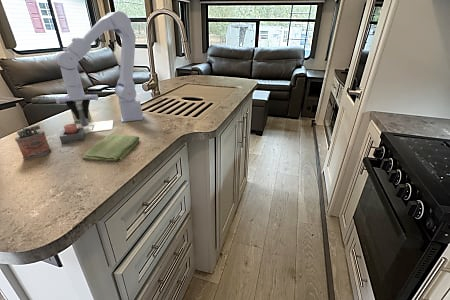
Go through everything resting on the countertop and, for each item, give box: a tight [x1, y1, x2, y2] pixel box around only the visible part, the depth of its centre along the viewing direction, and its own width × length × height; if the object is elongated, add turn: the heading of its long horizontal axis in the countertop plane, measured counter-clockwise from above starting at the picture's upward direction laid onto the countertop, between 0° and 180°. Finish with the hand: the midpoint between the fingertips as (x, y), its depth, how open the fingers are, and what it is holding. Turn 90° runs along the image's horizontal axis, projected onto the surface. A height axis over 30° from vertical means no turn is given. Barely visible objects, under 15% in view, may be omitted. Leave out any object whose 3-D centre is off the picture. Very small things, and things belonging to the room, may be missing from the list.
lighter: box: [14, 124, 52, 162], centre depth 78 cm, size 8×3×10 cm, turn 148°
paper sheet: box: [76, 119, 114, 134], centre depth 103 cm, size 17×12×1 cm
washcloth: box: [82, 133, 140, 162], centre depth 83 cm, size 13×18×3 cm
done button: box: [63, 123, 78, 134], centre depth 90 cm, size 4×4×2 cm
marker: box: [75, 103, 89, 126], centre depth 99 cm, size 3×3×9 cm
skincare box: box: [66, 92, 92, 122], centre depth 110 cm, size 6×4×12 cm
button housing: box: [59, 127, 86, 145], centre depth 92 cm, size 7×7×3 cm
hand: (83, 118), depth 99 cm, fingers closed on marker, 3 cm apart
